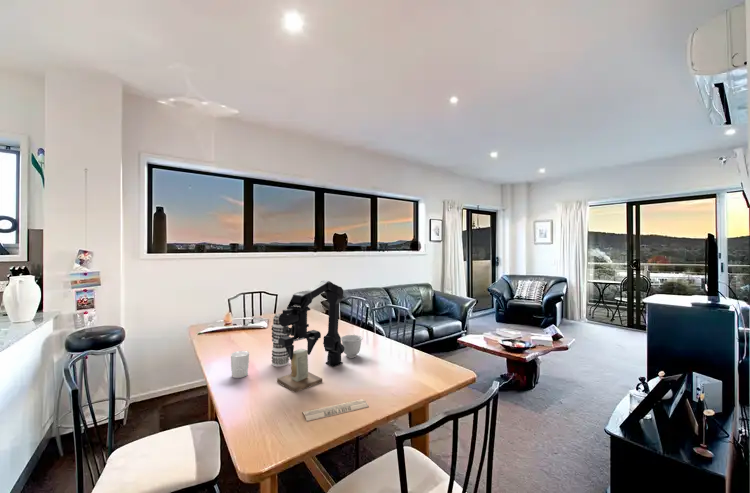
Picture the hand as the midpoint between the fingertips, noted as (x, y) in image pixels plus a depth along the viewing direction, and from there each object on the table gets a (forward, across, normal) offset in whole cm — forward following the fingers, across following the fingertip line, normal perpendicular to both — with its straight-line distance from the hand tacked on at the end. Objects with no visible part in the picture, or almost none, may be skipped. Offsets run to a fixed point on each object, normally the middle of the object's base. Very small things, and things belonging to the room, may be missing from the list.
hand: (300, 357), depth 142 cm
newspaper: (+12, +5, +31) cm, 33 cm away
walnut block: (+12, 0, 0) cm, 12 cm away
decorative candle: (+11, -6, -26) cm, 29 cm away
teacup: (+11, -40, -9) cm, 43 cm away
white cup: (+11, +15, -26) cm, 32 cm away
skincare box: (+10, 0, 0) cm, 10 cm away
